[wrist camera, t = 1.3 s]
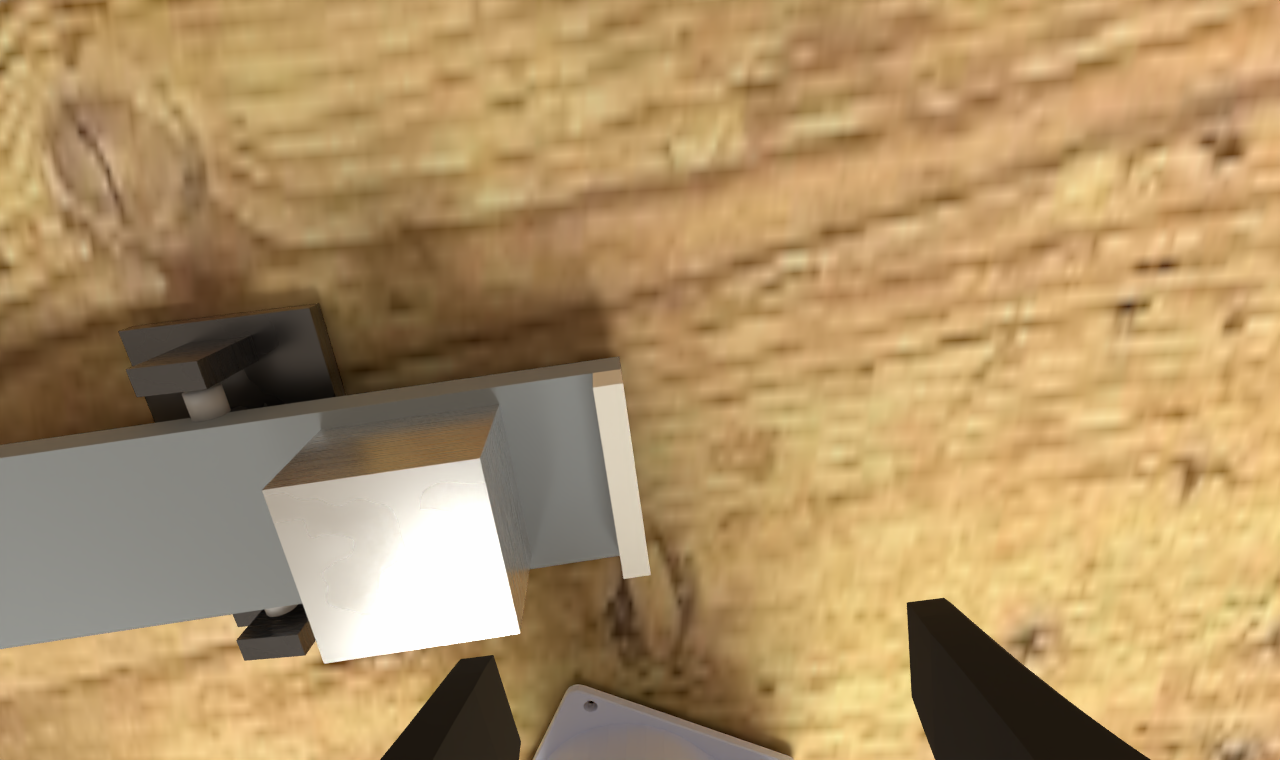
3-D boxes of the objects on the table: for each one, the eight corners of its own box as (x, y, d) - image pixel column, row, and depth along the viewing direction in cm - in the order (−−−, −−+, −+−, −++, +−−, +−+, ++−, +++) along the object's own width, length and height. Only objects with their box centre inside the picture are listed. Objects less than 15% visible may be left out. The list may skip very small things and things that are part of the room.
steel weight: (499, 403, 19) (479, 458, 15) (531, 554, 20) (520, 633, 17) (320, 429, 18) (261, 490, 15) (367, 579, 20) (324, 663, 17)
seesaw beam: (614, 326, 20) (618, 354, 17) (646, 543, 22) (653, 597, 20) (-205, 442, 19) (-338, 490, 16) (-78, 651, 22) (-174, 723, 19)
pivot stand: (318, 303, 20) (260, 330, 17) (406, 601, 24) (371, 665, 21) (133, 326, 21) (46, 356, 18) (247, 615, 24) (191, 680, 21)
